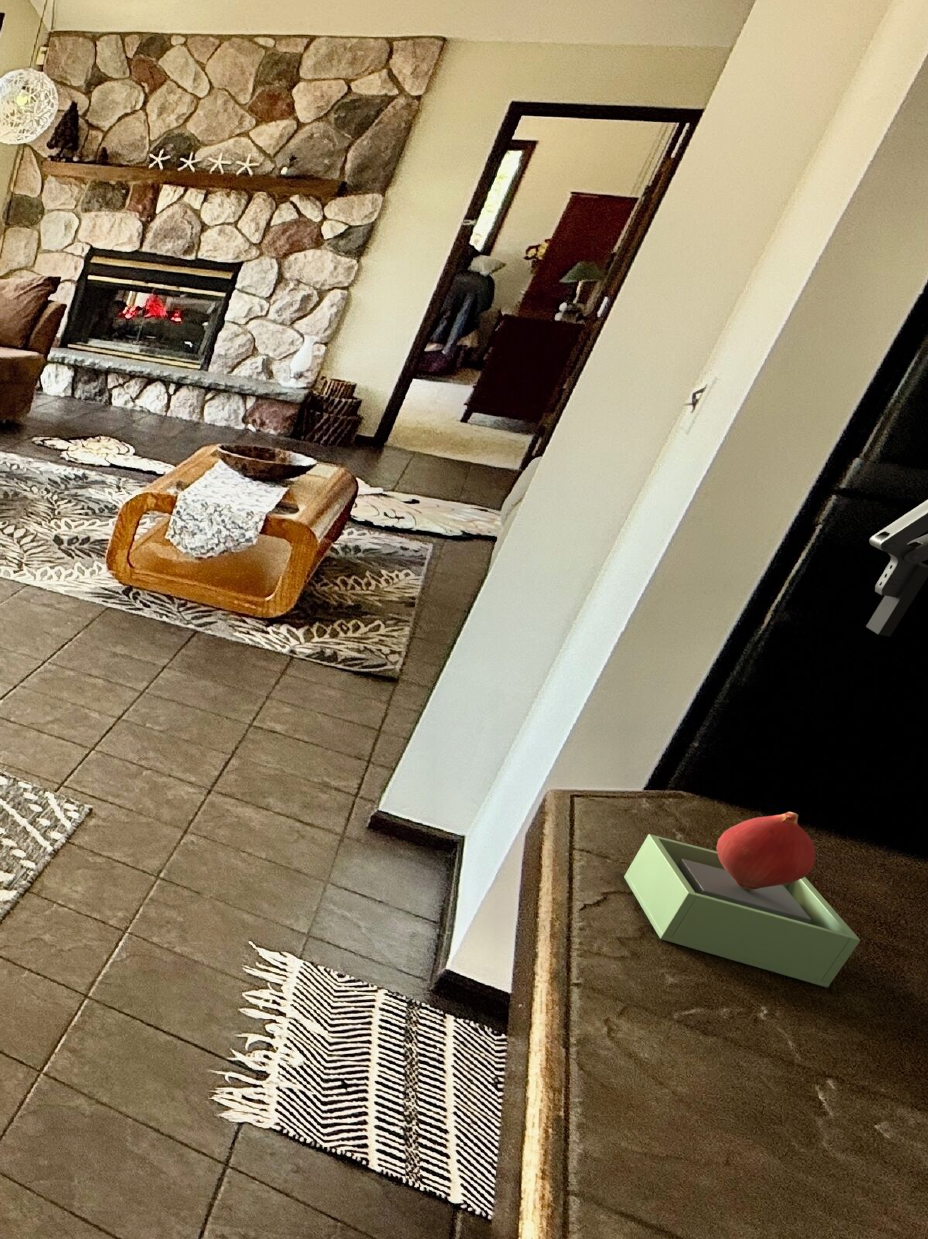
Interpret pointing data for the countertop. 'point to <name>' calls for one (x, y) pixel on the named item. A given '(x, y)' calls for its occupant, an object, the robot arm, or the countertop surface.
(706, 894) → the block
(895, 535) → the robot arm
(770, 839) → the onion
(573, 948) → the countertop surface
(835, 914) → the crate
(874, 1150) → the countertop surface
